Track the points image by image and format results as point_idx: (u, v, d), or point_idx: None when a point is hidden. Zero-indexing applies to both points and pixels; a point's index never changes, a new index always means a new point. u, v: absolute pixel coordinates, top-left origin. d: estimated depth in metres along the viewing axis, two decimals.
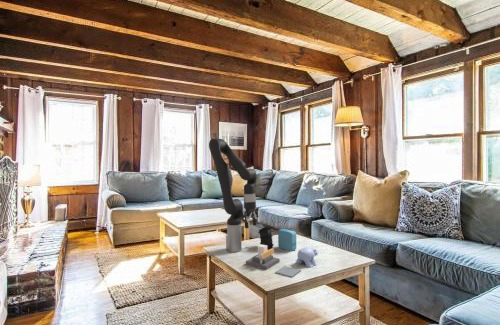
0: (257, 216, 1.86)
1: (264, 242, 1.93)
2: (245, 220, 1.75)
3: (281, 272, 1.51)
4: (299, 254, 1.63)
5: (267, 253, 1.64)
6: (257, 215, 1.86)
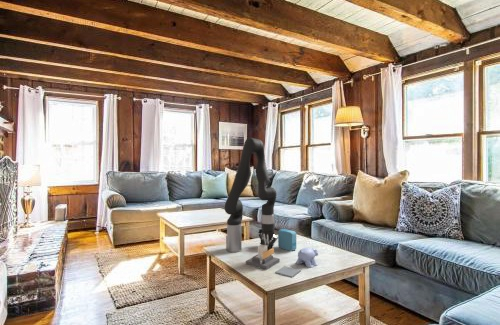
0: None
1: None
2: (273, 243, 1.68)
3: (281, 272, 1.51)
4: (299, 254, 1.62)
5: (267, 253, 1.64)
6: None
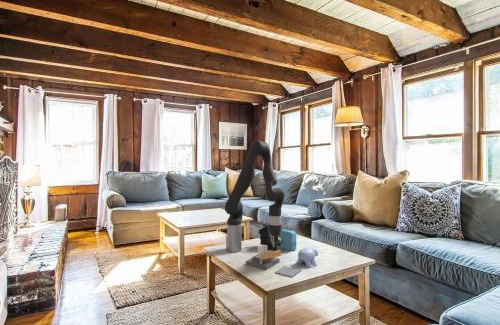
0: None
1: (264, 242, 1.93)
2: (279, 245, 1.64)
3: (281, 272, 1.51)
4: (299, 254, 1.62)
5: (270, 254, 1.62)
6: None
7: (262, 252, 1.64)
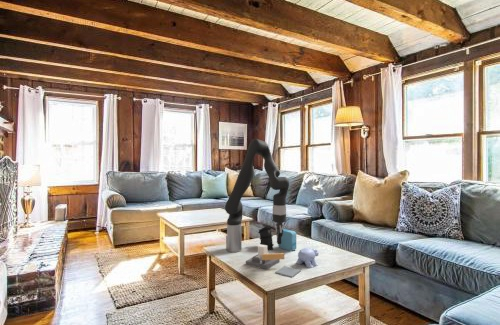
0: None
1: (264, 242, 1.93)
2: None
3: (281, 272, 1.51)
4: (299, 254, 1.62)
5: (271, 256, 1.60)
6: None
7: (262, 252, 1.64)
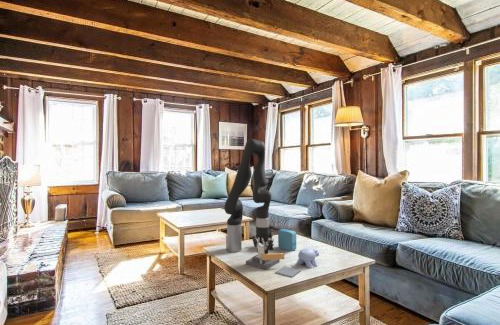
0: None
1: None
2: None
3: (281, 272, 1.51)
4: (300, 255, 1.61)
5: (271, 256, 1.60)
6: (257, 242, 1.69)
7: (262, 252, 1.64)
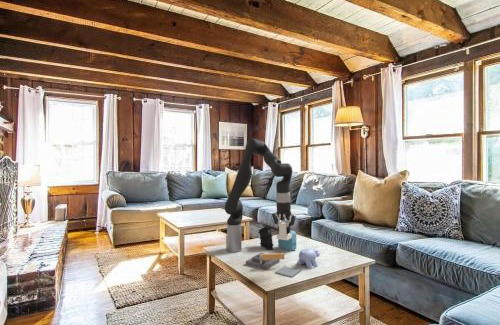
0: (278, 221, 1.58)
1: (264, 242, 1.93)
2: (293, 223, 1.53)
3: (281, 272, 1.51)
4: (300, 255, 1.61)
5: (271, 256, 1.60)
6: (277, 220, 1.58)
7: (284, 230, 1.53)
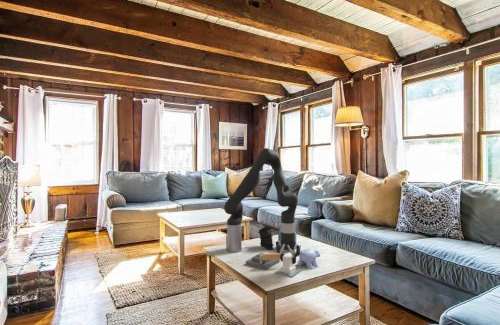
0: (280, 249, 1.57)
1: (264, 242, 1.93)
2: None
3: (281, 272, 1.51)
4: (300, 255, 1.61)
5: (271, 256, 1.60)
6: None
7: (288, 263, 1.51)
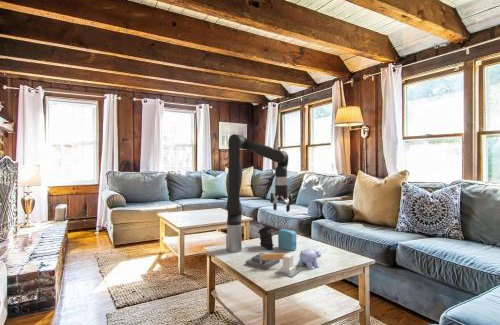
0: (273, 200, 1.80)
1: (264, 242, 1.93)
2: (292, 202, 1.72)
3: (281, 272, 1.51)
4: (301, 255, 1.60)
5: (271, 256, 1.60)
6: (273, 199, 1.80)
7: (288, 263, 1.51)
